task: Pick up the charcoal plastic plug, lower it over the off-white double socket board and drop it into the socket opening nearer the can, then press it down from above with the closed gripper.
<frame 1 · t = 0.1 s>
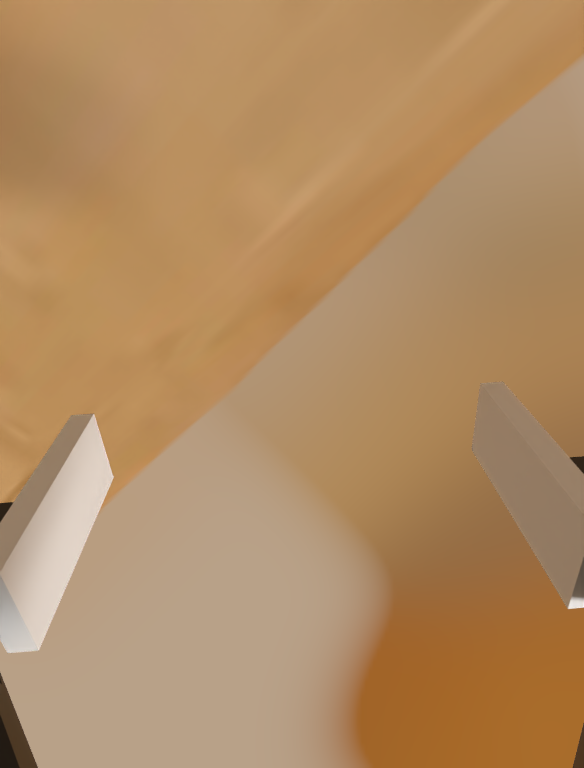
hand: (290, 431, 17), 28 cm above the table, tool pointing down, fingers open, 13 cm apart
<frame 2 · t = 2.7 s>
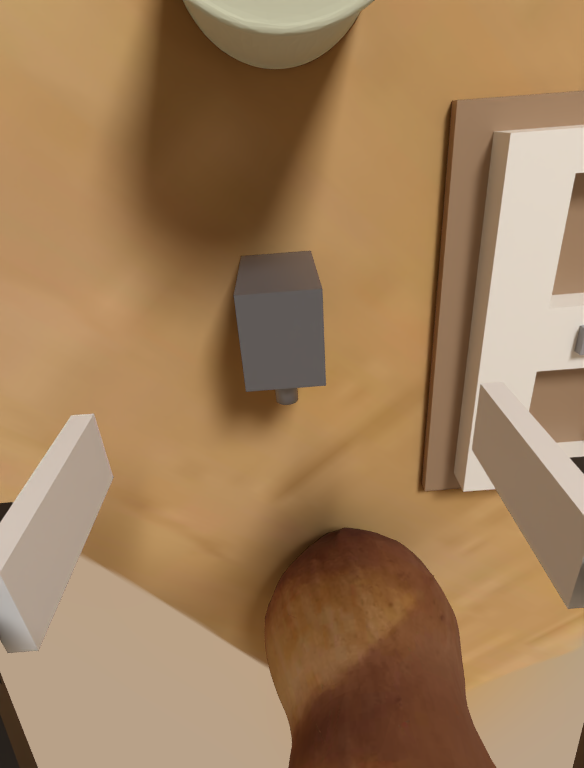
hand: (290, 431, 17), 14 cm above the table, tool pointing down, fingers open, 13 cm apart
socket board: (568, 319, 31), on the table
butternut squash: (349, 557, 41), on the table
plug: (279, 295, 30), on the table
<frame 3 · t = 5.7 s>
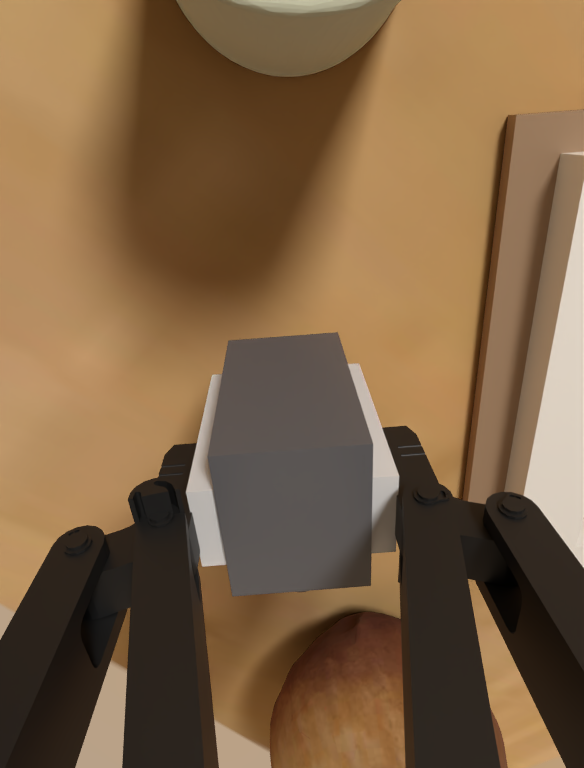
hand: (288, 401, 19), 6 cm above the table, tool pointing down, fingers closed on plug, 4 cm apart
butternut squash: (368, 638, 35), on the table
plug: (287, 395, 19), point 6 cm above the table, touching gripper
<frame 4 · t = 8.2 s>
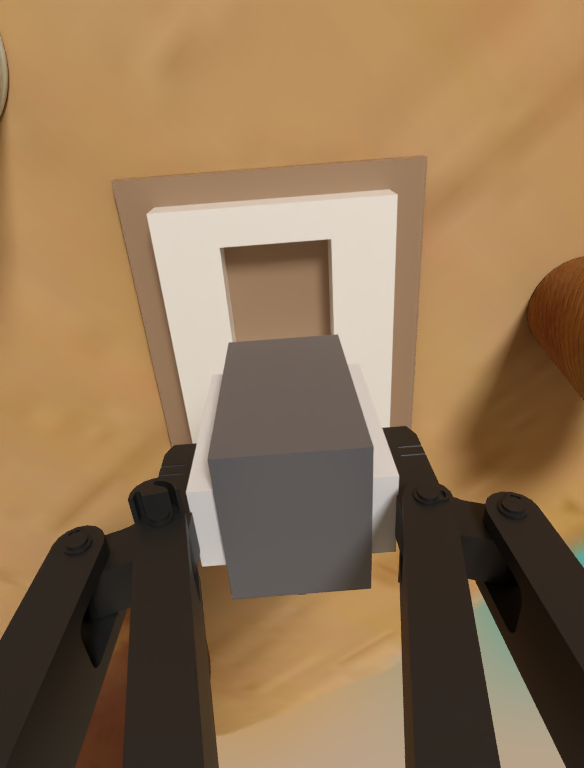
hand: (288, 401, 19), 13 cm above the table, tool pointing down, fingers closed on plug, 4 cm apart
disposable coffee cup: (574, 303, 32), on the table
socket board: (286, 369, 33), on the table
butternut squash: (142, 584, 43), on the table
plug: (287, 397, 19), point 13 cm above the table, touching gripper
when the fingers open (4 cm above the table, at t = 10.8 s): plug drops 2 cm, resting on socket board.
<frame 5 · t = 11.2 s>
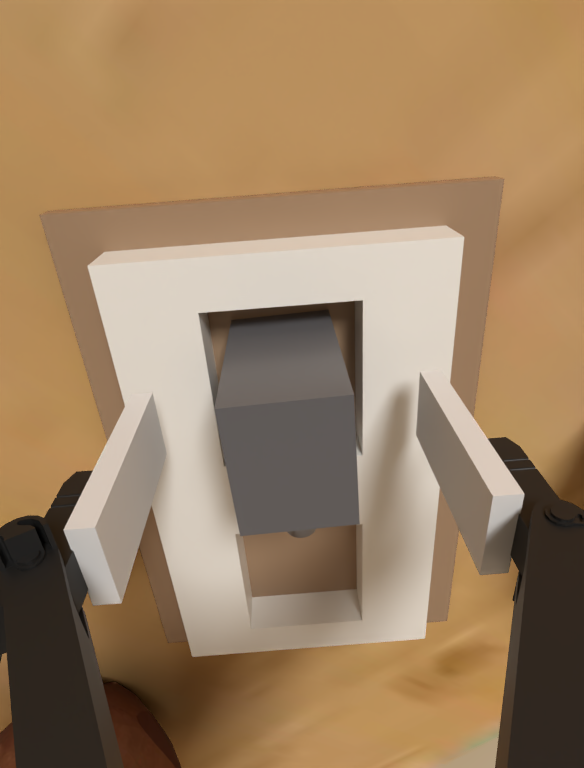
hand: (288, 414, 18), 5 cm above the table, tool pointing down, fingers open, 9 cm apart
socket board: (293, 458, 25), on the table
butternut squash: (112, 702, 34), on the table
plug: (286, 368, 21), point 1 cm above the table, touching socket board
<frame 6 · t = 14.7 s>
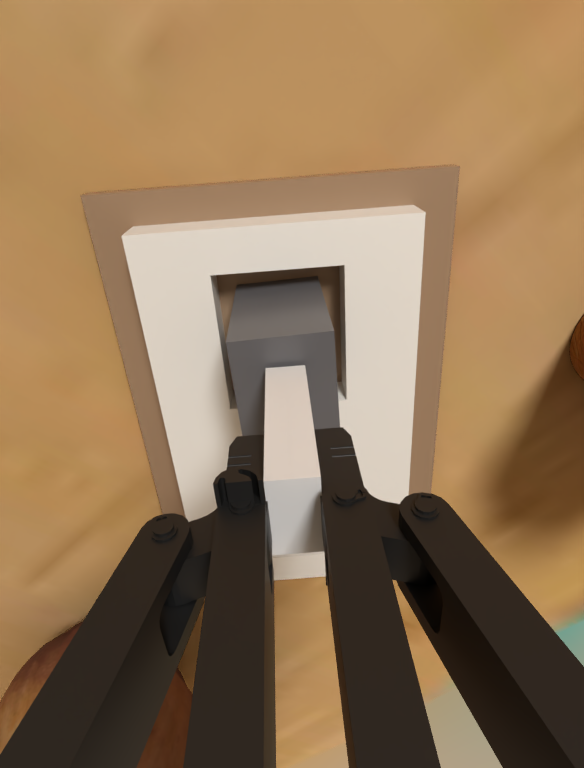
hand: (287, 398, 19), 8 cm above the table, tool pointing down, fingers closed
socket board: (289, 409, 29), on the table
butternut squash: (128, 639, 39), on the table
plug: (282, 327, 25), point 1 cm above the table, touching gripper, socket board
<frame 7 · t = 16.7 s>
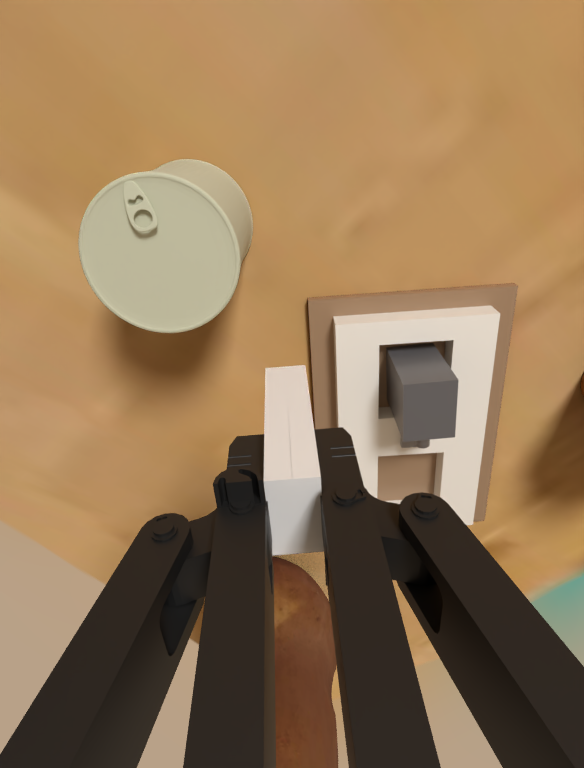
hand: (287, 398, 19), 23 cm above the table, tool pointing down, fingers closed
socket board: (405, 419, 47), on the table
butternut squash: (275, 576, 56), on the table
plug: (409, 371, 43), point 1 cm above the table, touching socket board
can: (193, 223, 38), on the table
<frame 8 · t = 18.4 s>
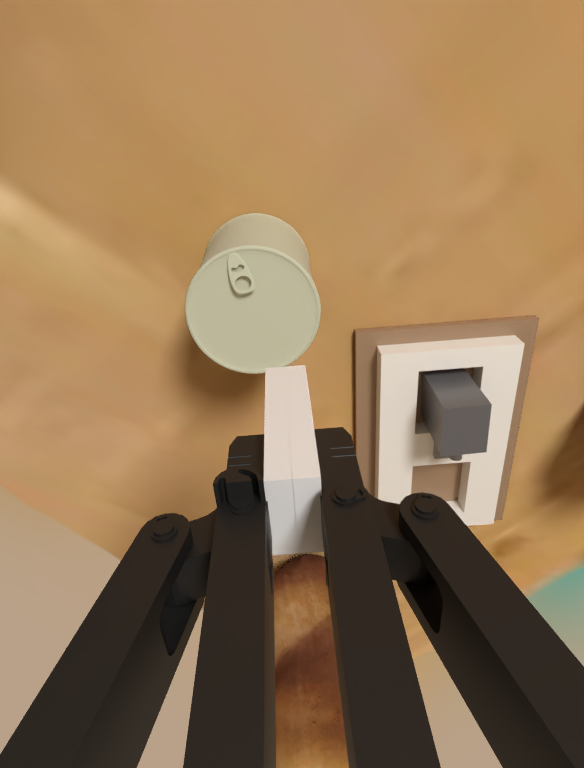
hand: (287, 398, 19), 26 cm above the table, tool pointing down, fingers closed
socket board: (435, 432, 52), on the table
butternut squash: (312, 572, 62), on the table
plug: (441, 391, 49), point 1 cm above the table, touching socket board
can: (257, 267, 43), on the table
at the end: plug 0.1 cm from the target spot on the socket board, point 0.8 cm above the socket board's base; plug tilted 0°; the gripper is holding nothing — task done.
